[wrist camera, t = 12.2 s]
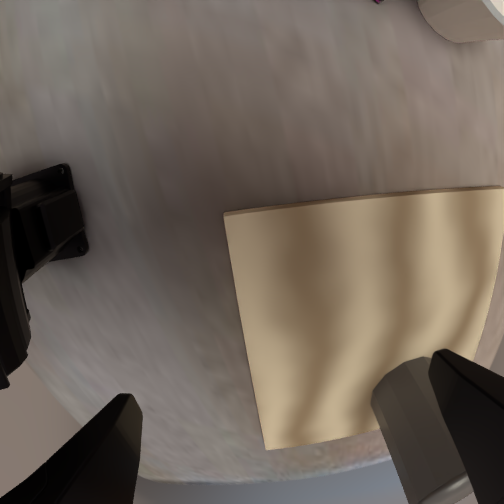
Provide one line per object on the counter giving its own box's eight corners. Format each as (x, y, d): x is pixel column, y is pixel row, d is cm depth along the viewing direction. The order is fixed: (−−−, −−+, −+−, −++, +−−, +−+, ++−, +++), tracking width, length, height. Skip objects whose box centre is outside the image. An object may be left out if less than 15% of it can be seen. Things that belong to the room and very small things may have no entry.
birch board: (265, 442, 28) (266, 450, 27) (224, 212, 19) (223, 216, 19) (452, 396, 28) (456, 402, 27) (499, 185, 19) (507, 188, 18)
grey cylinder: (367, 420, 26) (403, 525, 15) (375, 369, 24) (431, 492, 12) (430, 400, 26) (479, 490, 15) (447, 348, 23) (517, 447, 12)
